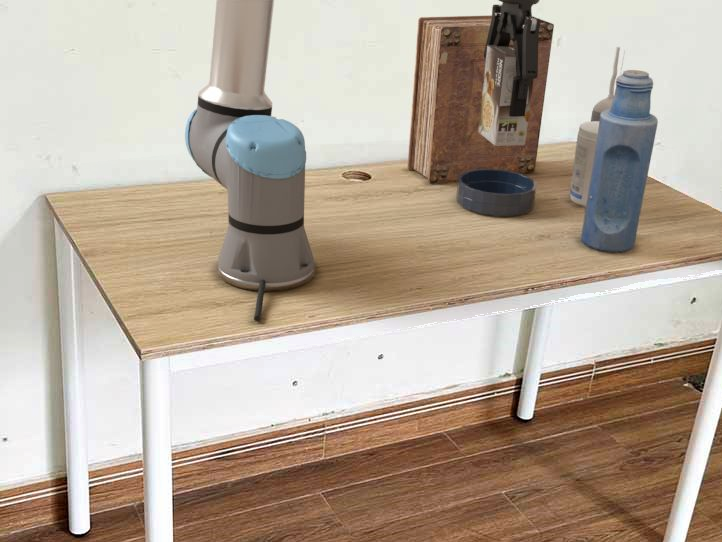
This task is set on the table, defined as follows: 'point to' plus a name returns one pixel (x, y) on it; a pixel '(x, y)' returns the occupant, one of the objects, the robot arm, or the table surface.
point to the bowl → (496, 192)
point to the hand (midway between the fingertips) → (504, 108)
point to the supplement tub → (583, 162)
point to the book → (464, 101)
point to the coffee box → (502, 99)
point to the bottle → (620, 166)
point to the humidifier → (607, 102)
